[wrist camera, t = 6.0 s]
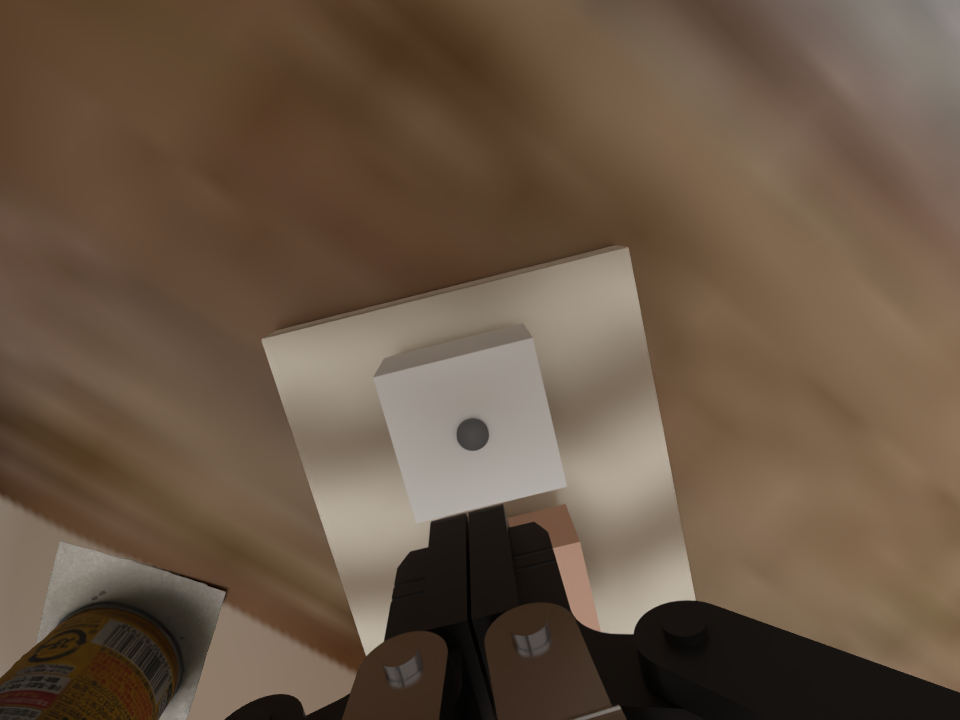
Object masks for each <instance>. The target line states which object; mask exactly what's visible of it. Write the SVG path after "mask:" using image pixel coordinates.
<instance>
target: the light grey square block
mask: <svg viewBox="0 0 960 720" xmlns="http://www.w3.org/2000/svg"><path fill="white" fill-rule="evenodd" d="M373 379H374V382H375V386H376V389H377V392H378V396H379V399H380V403H381V406H382V409H383V413H384V416H385V420H386V423H387V426H388V430H389V433H390V437H391V440H392V443H393V447H394V450H395V454H396V457H397V460H398V464H399V467H400V471H401V474H402V477H403V481H404V484H405V487H406V491H407V494H408V498H409V501H410V504H411V508H412V511H413V515H414V518H415V521H416V523H420V522H424V521H429V520H433V519H437V518H441V517H445V516H449V515H453V514H457V513H461V512H465V511H470V510H474V509H478V508H482V507H486V506H490V505H494V504H498V503H502V502H506V501H511V500H515V499H519V498H523V497H527V496H531V495H535V494H539V493H543V492H547V491H552V490H556V489H560V488H564V487H567V483H566V479H565V475H564V470H563V466H562V462H561V458H560V453H559V449H558V445H557V440H556V436H555V432H554V427H553V423H552V419H551V414H550V410H549V406H548V401H547V397H546V393H545V389H544V384H543V380H542V376H541V371H540V367H539V363H538V358H537V354H536V350H535V345H534V341H533V337H532V336H531V334H530V333H529V331H528V330H527V328H526V327H525V325H524V324H523V323H522V324H518V325H514V326H510V327H506V328H502V329H498V330H494V331H490V332H486V333H482V334H478V335H474V336H470V337H466V338H462V339H458V340H454V341H450V342H446V343H442V344H438V345H434V346H430V347H426V348H422V349H418V350H414V351H410V352H406V353H402V354H398V355H394V356H390V357H386V358H384V359H383V361H382V362H381V364H380V366H379V368H378V370H377V371H376V373H375V375H374V377H373Z"/></svg>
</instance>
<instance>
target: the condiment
mask: <svg viewBox="0 0 960 720" xmlns="http://www.w3.org/2000/svg"><path fill="white" fill-rule="evenodd" d="M225 593H226V592H224V591H221V590H219V589H215V588H212V587H208V586H207V585H206V584H204V583H200V582H196V581H193V580H191V579H187V578H185V577H181V576H177V575H174V574H172V573H170V572H167V571H163V570H160V569H157V568H153V567H149V566H146V565H142V564H139V563H136V562H135V561H134V560H131V559H122V558H118V557H113V556H110V555H107V554H104V553H102V552H99V551H95V550H93V549H87V548H82V547H79V546H76V545H72V544H69V543H65V542H62V541H60V544H59V549H58V552H57V555H56V558H55V563H54V569H53V573H52V576H51V578H50V582H49V590H48V593H47V596H46V599H45V603H44V609H43V613H42V618H41V624H40V629H39V633H38V637H37V641H36V645H35V647H33V648H32V649H31V650H30V651H29V652H28V653H26V654H25V655H23V656H22V657H21V659H20V660H18V661H17V662H16V663H15V664H14V665H13V666H12V668H11V669H10V670H9V671H8V672H7V673H5V674H4V675H3V676H2V677H1V678H0V720H187V717H188V715H189V711H190V708H191V704H192V702H193V699H194V695H195V692H196V689H197V685H198V682H199V679H200V676H201V672H202V669H203V665H204V662H205V658H206V654H207V652H208V649H209V646H210V643H211V639H212V636H213V633H214V630H215V627H216V623H217V620H218V616H219V612H220V609H221V606H222V603H223V600H224V597H225Z"/></svg>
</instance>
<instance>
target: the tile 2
mask: <svg viewBox="0 0 960 720" xmlns="http://www.w3.org/2000/svg"><path fill="white" fill-rule="evenodd" d="M507 519H508V523H509V527H513V526H517V525H522V524H526V523H530V522H536V523H537V524H538V525H540V526H541V527H542V528H544V529H545V530H546V531H548V533H549V537H550V540H551V543H552V547H553V550H554V554H555V557H556V561H557V564H558V567H559V571H560V574H561V578H562V581H563V585H564V588H565V591H566V595H567V598H568V602H569V605H570V609H571V611H572V613H573V615H574V616H575V618H576V619H577V620H578V621H579V622H580V623H582V624H583V625H585V626H586V627H588V628H591V629H593V630H596V631H599V632H601V630H600V626H599V621H598V617H597V613H596V608H595V604H594V600H593V596H592V591H591V587H590V583H589V578H588V574H587V570H586V565H585V561H584V557H583V552H582V548H581V544H580V540H579V538H578V535H577V533H576V530H575V527H574V525H573V522H572V519H571V517H570V514H569V512H568V509H567V506H566V504H563V505H559V506H555V507H551V508H547V509H543V510H539V511H535V512H530V513H526V514H522V515H518V516H514V517H510V518H507Z"/></svg>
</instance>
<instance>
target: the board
mask: <svg viewBox="0 0 960 720" xmlns="http://www.w3.org/2000/svg"><path fill="white" fill-rule="evenodd" d="M522 323H523V324H524V325H525V327H526V328H527V330H528V331H529V333H530V334H531V336H532V337H533V341H534V345H535V350H536V354H537V358H538V363H539V367H540V371H541V376H542V380H543V384H544V389H545V393H546V397H547V401H548V406H549V410H550V414H551V419H552V423H553V427H554V432H555V436H556V440H557V445H558V449H559V453H560V458H561V462H562V466H563V470H564V475H565V479H566V483H567V487H564V488H560V489H556V490H552V491H547V492H543V493H539V494H535V495H531V496H527V497H523V498H519V499H515V500H511V501H506V502H502V503H498V504H494V505H490V506H486V507H482V508H478V509H474V510H470V511H465V512H461V513H457V514H453V515H449V516H445V517H441V518H437V519H433V520H429V521H424V522H420V523H416V521H415V518H414V515H413V511H412V508H411V504H410V501H409V498H408V494H407V491H406V487H405V484H404V481H403V477H402V474H401V471H400V467H399V464H398V460H397V457H396V454H395V450H394V447H393V443H392V440H391V437H390V433H389V430H388V426H387V423H386V420H385V416H384V413H383V409H382V406H381V403H380V399H379V396H378V392H377V389H376V386H375V382H374V379H373V377H374V375H375V373H376V371H377V370H378V368H379V366H380V364H381V362H382V361H383V359H384V358H386V357H390V356H394V355H398V354H402V353H406V352H410V351H414V350H418V349H422V348H426V347H430V346H434V345H438V344H442V343H446V342H450V341H454V340H458V339H462V338H466V337H470V336H474V335H478V334H482V333H486V332H490V331H494V330H498V329H502V328H506V327H510V326H514V325H518V324H522ZM261 340H262V344H263V347H264V350H265V353H266V356H267V359H268V362H269V365H270V368H271V371H272V374H273V377H274V380H275V383H276V386H277V389H278V392H279V395H280V398H281V401H282V404H283V407H284V410H285V413H286V416H287V419H288V422H289V425H290V428H291V431H292V434H293V437H294V440H295V443H296V446H297V449H298V452H299V455H300V458H301V461H302V464H303V467H304V470H305V473H306V476H307V479H308V482H309V485H310V488H311V491H312V494H313V497H314V500H315V503H316V506H317V509H318V512H319V515H320V518H321V521H322V524H323V527H324V530H325V533H326V536H327V539H328V542H329V545H330V548H331V551H332V554H333V557H334V560H335V564H336V567H337V570H338V573H339V576H340V579H341V582H342V585H343V588H344V591H345V594H346V597H347V600H348V603H349V606H350V609H351V612H352V615H353V618H354V621H355V624H356V627H357V630H358V633H359V636H360V639H361V642H362V645H363V648H364V651H365V654H366V656H367V655H368V654H369V653H370V652H371V651H372V650H373V649H374V648H376V647H377V646H378V645H380V644H381V643H383V642H384V637H385V632H386V626H387V621H388V616H389V610H390V605H391V602H392V594H393V588H395V586H394V583H395V577H396V572H397V568H398V566H399V565H400V564H401V562H402V561H403V560H404V559H405V557H406V556H407V555H408V553H409V552H410V551H414V550H418V549H422V548H426V547H428V543H429V533H430V523H431V521H434V520H438V519H442V518H447V517H451V516H455V515H459V514H463V513H466V514H467V516H468V513H469V512H471V511H475V510H479V509H483V508H488V507H492V506H496V505H500V504H503V505H504V508H505V511H506V515H507V518H510V517H514V516H518V515H522V514H526V513H530V512H535V511H539V510H543V509H547V508H551V507H555V506H559V505H563V504H566V506H567V509H568V512H569V514H570V517H571V519H572V522H573V525H574V527H575V530H576V533H577V535H578V538H579V540H580V544H581V548H582V552H583V557H584V561H585V565H586V570H587V574H588V578H589V583H590V587H591V591H592V596H593V600H594V604H595V608H596V613H597V617H598V621H599V626H600V630H601V632H604V633H610V634H634V629H635V626H636V624H637V622H638V621H639V619H640V618H641V617H642V616H643V615H644V614H645V613H647V612H648V611H649V610H651V609H653V608H654V607H657V606H659V605H662V604H665V603H668V602H673V601H683V600H691V601H696V600H695V594H694V589H693V584H692V579H691V573H690V568H689V563H688V558H687V552H686V547H685V542H684V537H683V531H682V526H681V521H680V515H679V510H678V505H677V500H676V494H675V489H674V484H673V479H672V473H671V468H670V463H669V458H668V452H667V447H666V442H665V437H664V431H663V426H662V421H661V416H660V410H659V405H658V400H657V395H656V389H655V384H654V379H653V374H652V368H651V363H650V358H649V353H648V347H647V342H646V337H645V332H644V326H643V321H642V316H641V311H640V305H639V300H638V295H637V290H636V284H635V279H634V274H633V269H632V263H631V258H630V253H629V248H628V247H624V246H617V245H614V246H610V247H606V248H602V249H598V250H594V251H590V252H586V253H582V254H578V255H574V256H570V257H566V258H562V259H558V260H554V261H550V262H546V263H542V264H538V265H534V266H530V267H526V268H523V269H519V270H515V271H511V272H507V273H503V274H499V275H495V276H491V277H487V278H483V279H479V280H475V281H471V282H467V283H463V284H459V285H455V286H451V287H447V288H443V289H439V290H435V291H431V292H427V293H423V294H419V295H415V296H411V297H407V298H403V299H399V300H395V301H391V302H387V303H383V304H379V305H375V306H371V307H367V308H363V309H359V310H355V311H351V312H347V313H343V314H339V315H336V316H332V317H328V318H324V319H320V320H316V321H312V322H308V323H304V324H300V325H296V326H292V327H288V328H284V329H280V330H276V331H275V332H273V333H271V334H269V335H268V336H266V337H264V338H263V339H261Z"/></svg>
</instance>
